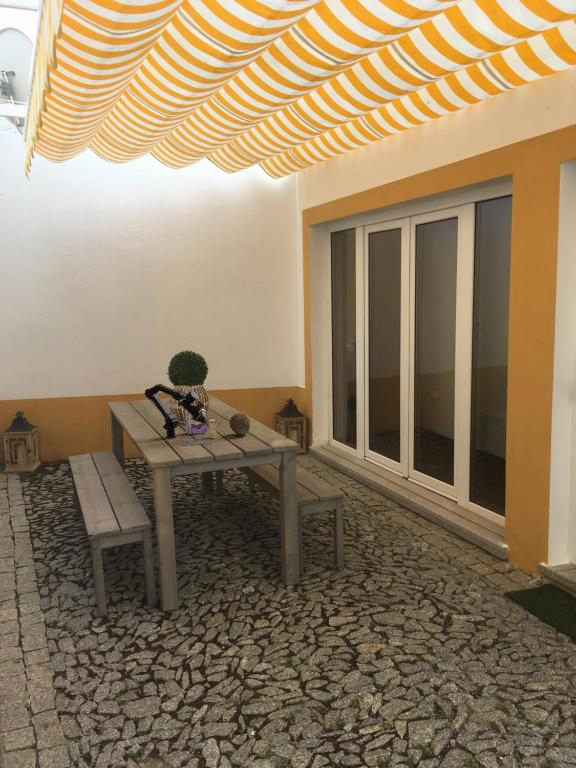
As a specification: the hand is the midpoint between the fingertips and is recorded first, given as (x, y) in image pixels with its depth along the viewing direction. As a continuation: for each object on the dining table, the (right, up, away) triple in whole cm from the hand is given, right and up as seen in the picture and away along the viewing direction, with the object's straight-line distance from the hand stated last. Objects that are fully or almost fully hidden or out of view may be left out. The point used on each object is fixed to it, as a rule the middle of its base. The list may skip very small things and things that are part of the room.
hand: (206, 422), depth 434 cm
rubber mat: (-5, -13, -11) cm, 18 cm away
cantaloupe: (+22, -10, +9) cm, 26 cm away
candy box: (-9, -9, +18) cm, 22 cm away
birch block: (+4, -11, +2) cm, 12 cm away
